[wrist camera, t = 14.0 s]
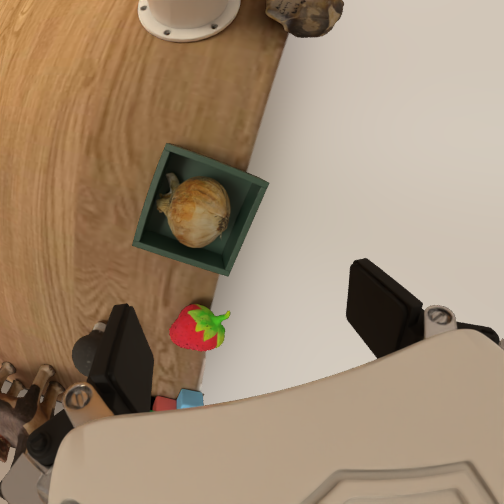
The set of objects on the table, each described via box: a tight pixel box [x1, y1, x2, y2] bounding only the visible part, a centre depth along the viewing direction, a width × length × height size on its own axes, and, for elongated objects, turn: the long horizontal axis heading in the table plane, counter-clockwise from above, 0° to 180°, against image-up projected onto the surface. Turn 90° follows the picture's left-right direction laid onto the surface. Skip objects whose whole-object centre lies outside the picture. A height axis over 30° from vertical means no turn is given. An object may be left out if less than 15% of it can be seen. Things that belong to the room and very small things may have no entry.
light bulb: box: [72, 322, 106, 377], centre depth 31 cm, size 6×6×10 cm
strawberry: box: [169, 304, 230, 352], centre depth 36 cm, size 6×7×10 cm
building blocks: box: [150, 389, 204, 412], centre depth 40 cm, size 8×8×12 cm
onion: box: [156, 173, 230, 248], centre depth 29 cm, size 8×8×8 cm
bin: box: [132, 143, 269, 276], centre depth 30 cm, size 11×11×5 cm
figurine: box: [0, 362, 66, 500], centre depth 23 cm, size 10×23×30 cm, turn 96°
